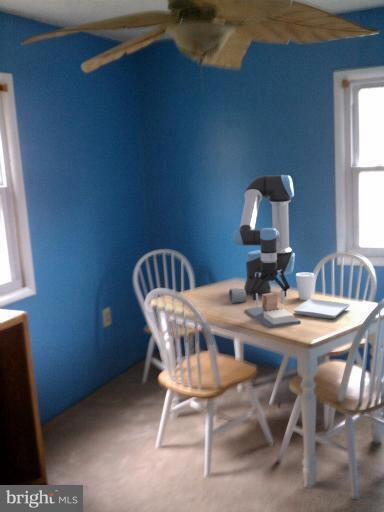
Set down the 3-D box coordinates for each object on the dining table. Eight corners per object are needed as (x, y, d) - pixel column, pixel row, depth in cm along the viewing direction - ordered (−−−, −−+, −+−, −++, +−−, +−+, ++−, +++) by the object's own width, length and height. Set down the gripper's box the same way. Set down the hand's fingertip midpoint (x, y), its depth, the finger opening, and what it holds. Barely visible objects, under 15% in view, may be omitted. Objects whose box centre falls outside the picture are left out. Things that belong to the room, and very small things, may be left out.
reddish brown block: (262, 312, 255) (262, 294, 253) (272, 311, 256) (271, 292, 255) (267, 315, 249) (267, 297, 248) (277, 314, 251) (277, 295, 249)
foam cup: (310, 301, 275) (310, 276, 273) (293, 299, 280) (293, 275, 277) (316, 296, 283) (316, 273, 281) (299, 295, 288) (299, 271, 285)
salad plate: (335, 322, 241) (335, 315, 240) (292, 316, 253) (291, 309, 252) (350, 310, 258) (350, 303, 257) (309, 305, 270) (309, 298, 269)
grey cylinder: (247, 303, 277) (247, 289, 276) (232, 304, 276) (231, 290, 274) (242, 298, 287) (241, 284, 286) (227, 300, 286) (226, 286, 285)
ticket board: (244, 311, 263) (244, 303, 262) (274, 307, 267) (274, 299, 266) (268, 328, 236) (267, 318, 235) (300, 323, 241) (300, 314, 240)
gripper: (246, 265, 241) (248, 310, 245) (296, 260, 248) (297, 304, 252) (240, 262, 248) (242, 306, 252) (289, 257, 255) (290, 300, 259)
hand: (269, 305), depth 252 cm, fingers open, 13 cm apart
